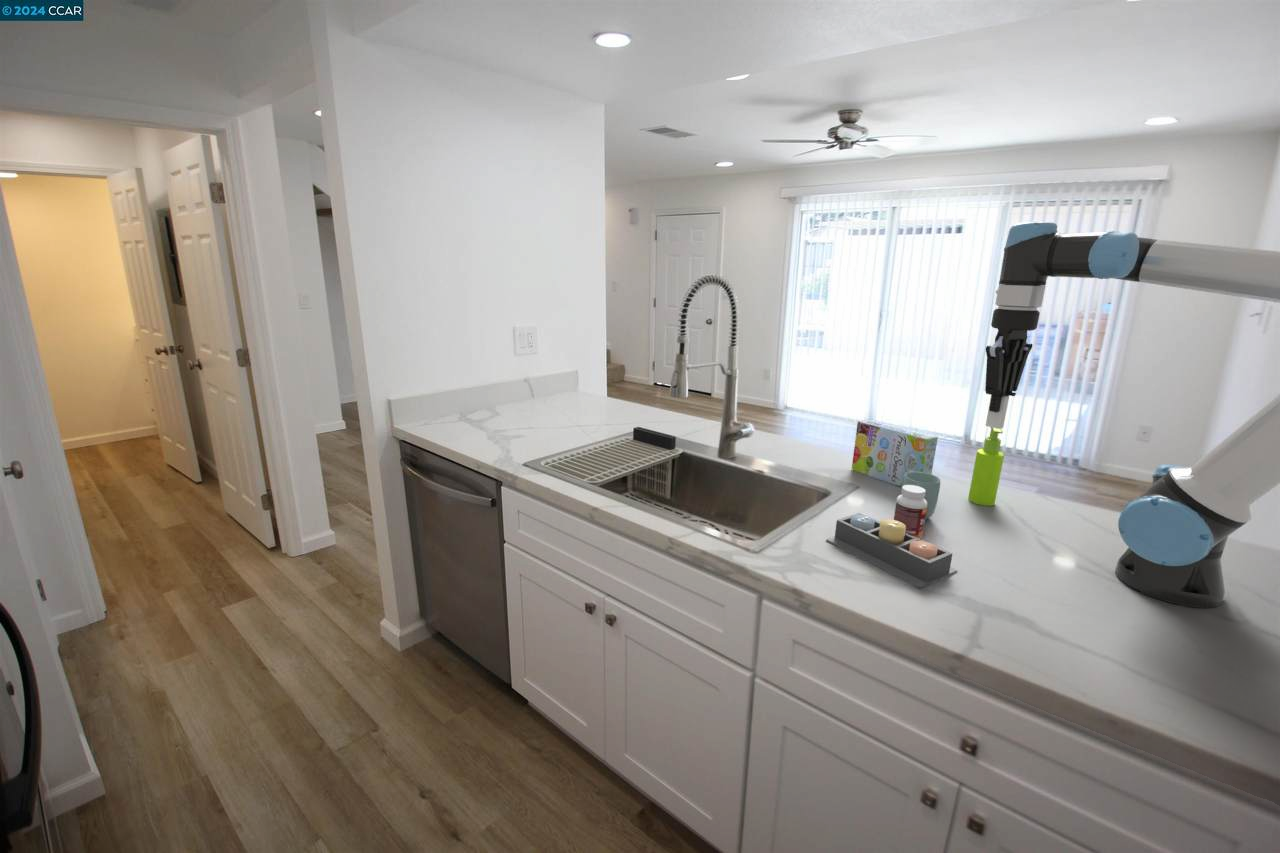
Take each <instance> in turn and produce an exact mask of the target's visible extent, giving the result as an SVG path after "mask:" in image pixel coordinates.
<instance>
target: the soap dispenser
mask: <svg viewBox="0 0 1280 853" xmlns="http://www.w3.org/2000/svg"><path fill="white" fill-rule="evenodd" d="M989 428H990V433H989V436H987V437H985V438H984V443H983V448H979V449H977V450H976V456H975V458H974V459H975V460H974V466H973V470H972V475H971V476H972V477H971V481H970V487H969V492H968V496H967V497H968V498H967V499H968V501H970V502H971V503H974V505H975V504H976V505H979V506H985V507H986V506H987V507H989V506H994V505H995V503H996V499H997V498H996V497H997V494H998V489H999V483H1000V477H1001V473H1002V470H1003V463H1004V459H1005V454H1004V452H1001V451H1000V449H1001V448H1000V447H1001V443H1002V440H1001V439H1000V438H999V434H1003V428H1001V429H997V428H993V427H989Z"/></svg>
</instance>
